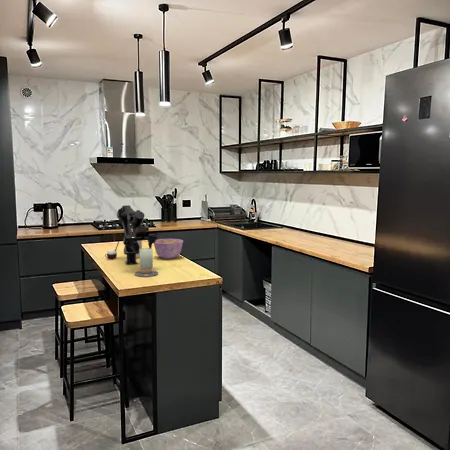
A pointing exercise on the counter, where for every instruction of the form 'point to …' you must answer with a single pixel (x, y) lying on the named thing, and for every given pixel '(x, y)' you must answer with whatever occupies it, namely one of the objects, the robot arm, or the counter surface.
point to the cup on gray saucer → (146, 272)
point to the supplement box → (139, 249)
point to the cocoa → (112, 253)
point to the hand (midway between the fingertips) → (143, 250)
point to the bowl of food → (168, 248)
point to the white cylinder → (146, 258)
